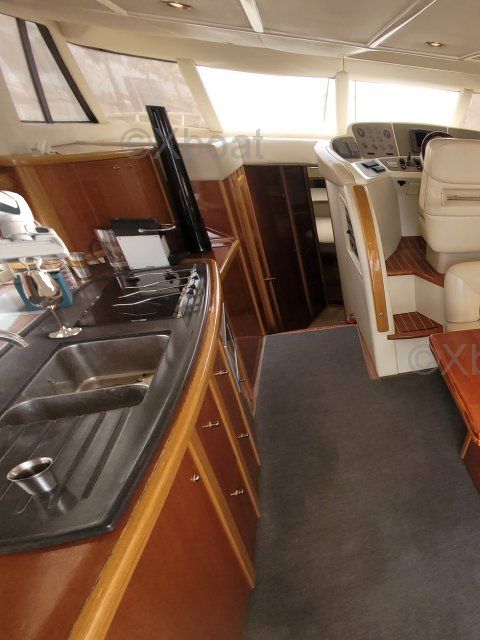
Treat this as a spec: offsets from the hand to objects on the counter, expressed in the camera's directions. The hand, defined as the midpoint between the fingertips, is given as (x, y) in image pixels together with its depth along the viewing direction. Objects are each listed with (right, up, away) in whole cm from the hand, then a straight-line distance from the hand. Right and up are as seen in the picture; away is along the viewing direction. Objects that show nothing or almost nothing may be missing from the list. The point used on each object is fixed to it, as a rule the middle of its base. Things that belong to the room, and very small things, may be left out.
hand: (34, 270), depth 136 cm
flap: (-3, 0, +3) cm, 4 cm away
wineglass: (+24, -23, -12) cm, 36 cm away
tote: (-1, -10, +7) cm, 12 cm away
